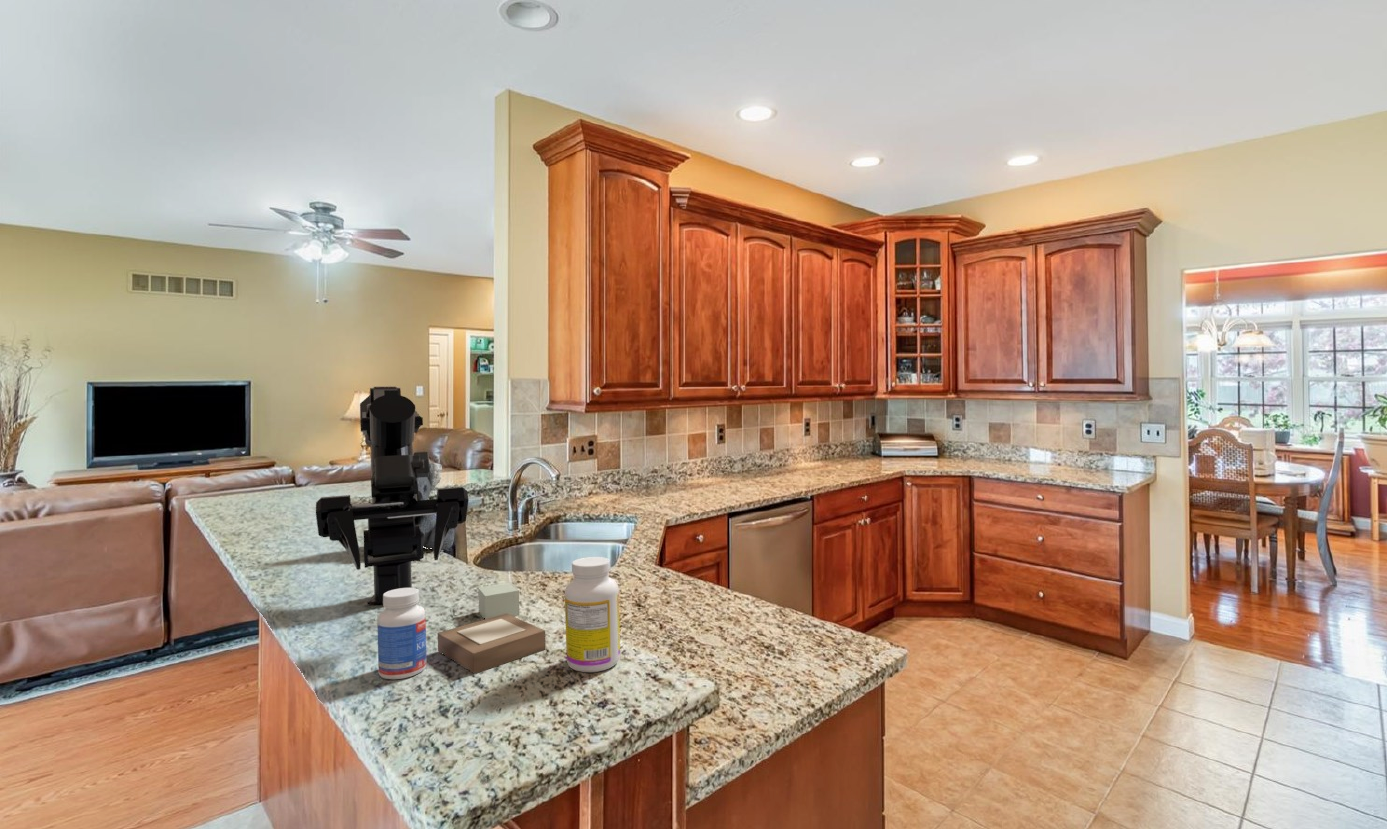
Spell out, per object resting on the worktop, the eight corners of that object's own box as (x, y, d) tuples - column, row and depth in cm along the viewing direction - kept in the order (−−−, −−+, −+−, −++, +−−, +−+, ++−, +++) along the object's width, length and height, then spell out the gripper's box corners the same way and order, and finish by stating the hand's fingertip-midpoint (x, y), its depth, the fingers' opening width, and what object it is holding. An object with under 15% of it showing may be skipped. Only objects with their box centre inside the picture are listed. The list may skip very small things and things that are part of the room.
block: (478, 613, 99) (478, 587, 99) (511, 607, 102) (510, 582, 102) (486, 622, 95) (485, 596, 95) (519, 616, 97) (518, 590, 97)
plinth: (438, 651, 84) (437, 631, 84) (506, 630, 91) (506, 612, 91) (474, 674, 77) (473, 652, 77) (545, 649, 84) (545, 629, 84)
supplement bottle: (590, 648, 84) (588, 552, 84) (630, 658, 81) (628, 558, 80) (554, 667, 78) (552, 564, 78) (596, 679, 75) (594, 571, 75)
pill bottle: (426, 676, 76) (424, 595, 76) (376, 684, 74) (374, 602, 74) (427, 658, 82) (425, 583, 81) (380, 666, 80) (378, 589, 79)
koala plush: (372, 562, 131) (369, 467, 131) (359, 546, 146) (356, 461, 145) (458, 549, 141) (456, 461, 141) (438, 535, 156) (436, 456, 155)
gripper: (314, 436, 83) (310, 536, 73) (464, 430, 91) (478, 519, 82) (320, 489, 90) (317, 586, 81) (459, 479, 99) (471, 566, 89)
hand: (398, 563), depth 83 cm, fingers open, 9 cm apart
